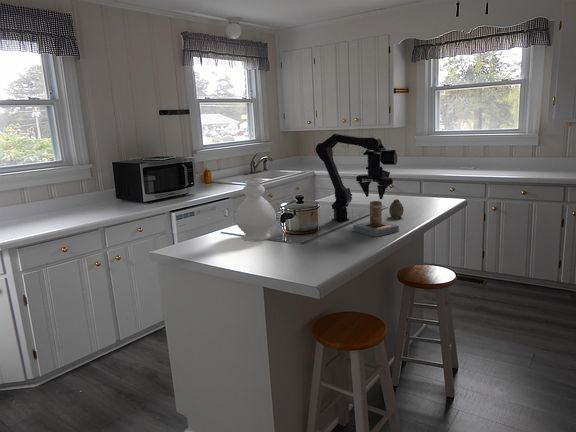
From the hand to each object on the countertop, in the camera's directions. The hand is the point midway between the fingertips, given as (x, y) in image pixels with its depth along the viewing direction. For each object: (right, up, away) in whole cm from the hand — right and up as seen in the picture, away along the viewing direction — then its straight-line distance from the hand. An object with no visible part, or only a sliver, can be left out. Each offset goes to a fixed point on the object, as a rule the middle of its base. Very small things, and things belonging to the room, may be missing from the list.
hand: (374, 197), depth 217 cm
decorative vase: (-54, -18, -13) cm, 59 cm away
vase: (+13, -9, +12) cm, 20 cm away
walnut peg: (-1, -15, -11) cm, 19 cm away
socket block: (-1, -15, -11) cm, 19 cm away
